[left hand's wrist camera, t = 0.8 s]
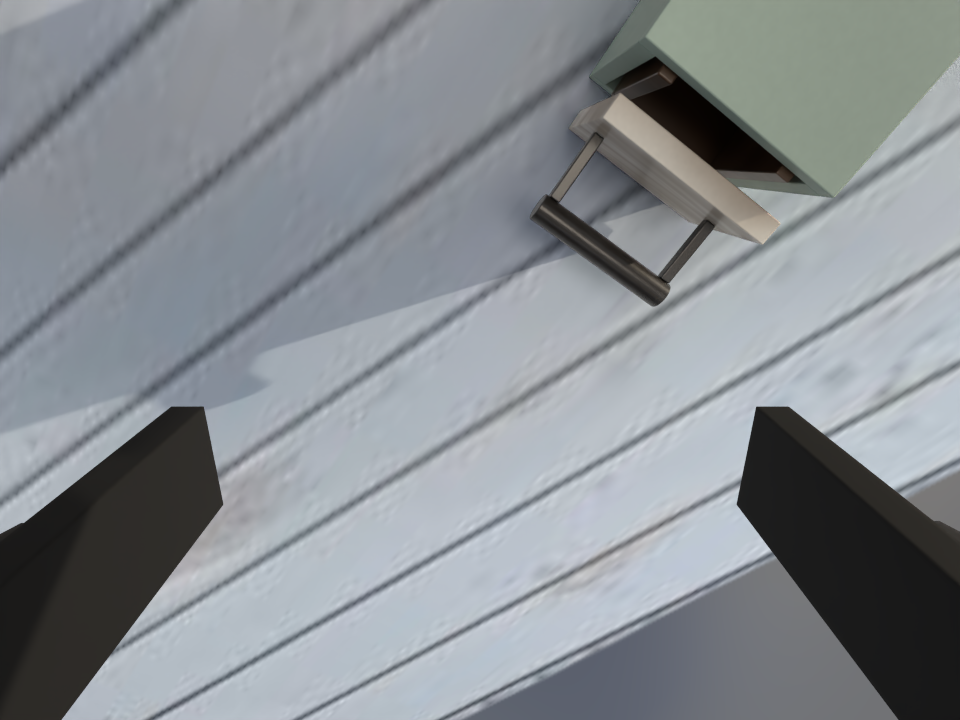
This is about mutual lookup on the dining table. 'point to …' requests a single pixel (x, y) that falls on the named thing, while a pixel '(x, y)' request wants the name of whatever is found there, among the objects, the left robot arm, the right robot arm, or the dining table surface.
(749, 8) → the cabinet
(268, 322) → the dining table surface
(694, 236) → the drawer
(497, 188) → the dining table surface
